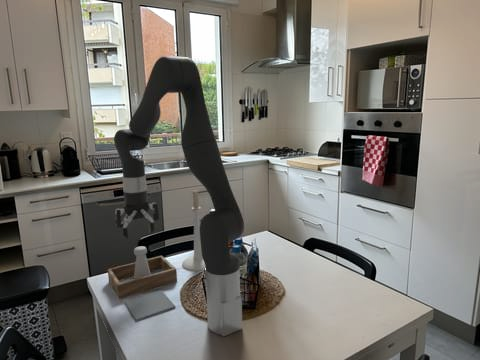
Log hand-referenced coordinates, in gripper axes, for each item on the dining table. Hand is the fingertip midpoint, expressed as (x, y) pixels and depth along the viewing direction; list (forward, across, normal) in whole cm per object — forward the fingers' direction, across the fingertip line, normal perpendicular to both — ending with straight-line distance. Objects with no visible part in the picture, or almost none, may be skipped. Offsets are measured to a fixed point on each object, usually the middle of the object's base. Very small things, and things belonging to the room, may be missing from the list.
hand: (138, 235), depth 119 cm
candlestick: (+18, +23, +2) cm, 29 cm away
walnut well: (+18, 0, 0) cm, 18 cm away
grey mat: (+17, -3, -16) cm, 24 cm away
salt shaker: (+18, 0, 0) cm, 18 cm away
